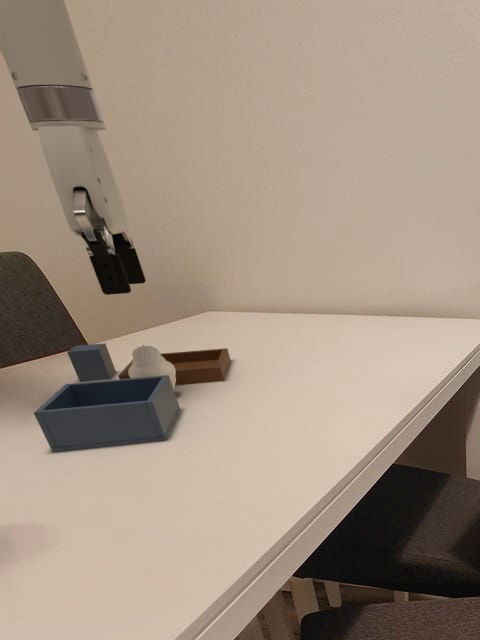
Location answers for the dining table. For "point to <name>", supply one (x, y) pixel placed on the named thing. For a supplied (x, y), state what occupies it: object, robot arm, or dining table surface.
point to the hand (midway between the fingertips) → (126, 288)
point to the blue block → (92, 362)
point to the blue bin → (109, 413)
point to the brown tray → (195, 366)
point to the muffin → (150, 364)
